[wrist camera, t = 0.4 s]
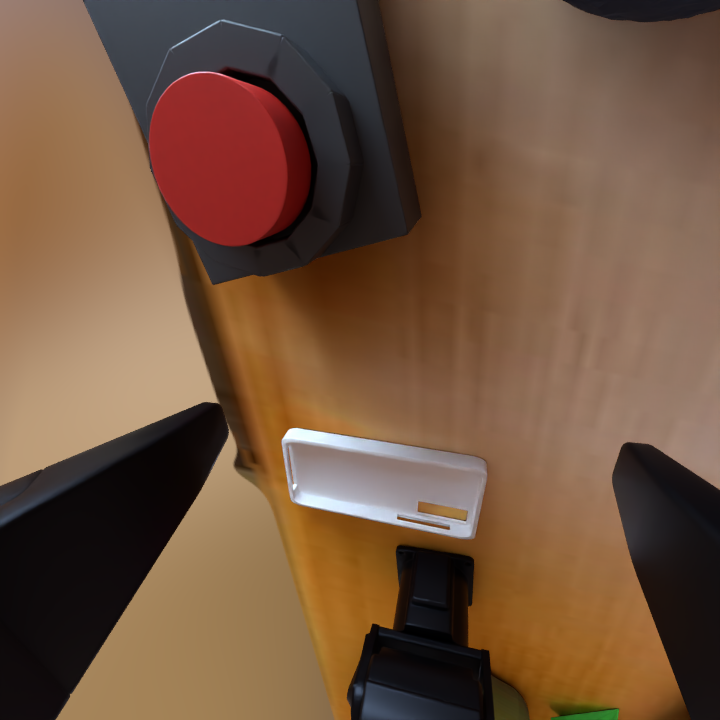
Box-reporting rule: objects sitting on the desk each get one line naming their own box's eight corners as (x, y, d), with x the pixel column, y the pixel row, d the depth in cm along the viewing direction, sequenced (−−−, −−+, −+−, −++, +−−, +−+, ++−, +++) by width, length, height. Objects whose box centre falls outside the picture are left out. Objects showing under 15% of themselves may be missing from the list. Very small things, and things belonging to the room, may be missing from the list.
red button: (329, 217, 14) (309, 226, 12) (223, 249, 15) (192, 260, 14) (281, 57, 12) (249, 39, 10) (165, 114, 13) (121, 107, 12)
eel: (527, 674, 35) (532, 745, 32) (529, 721, 44) (533, 783, 40) (407, 645, 40) (398, 704, 36) (429, 693, 48) (424, 746, 44)
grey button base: (421, 217, 19) (401, 243, 13) (262, 260, 23) (188, 296, 17) (358, -100, 14) (281, -283, 8) (167, 17, 18) (17, -53, 12)
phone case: (487, 457, 25) (287, 425, 29) (488, 471, 24) (280, 436, 28) (473, 527, 29) (296, 491, 32) (473, 542, 28) (290, 504, 31)
